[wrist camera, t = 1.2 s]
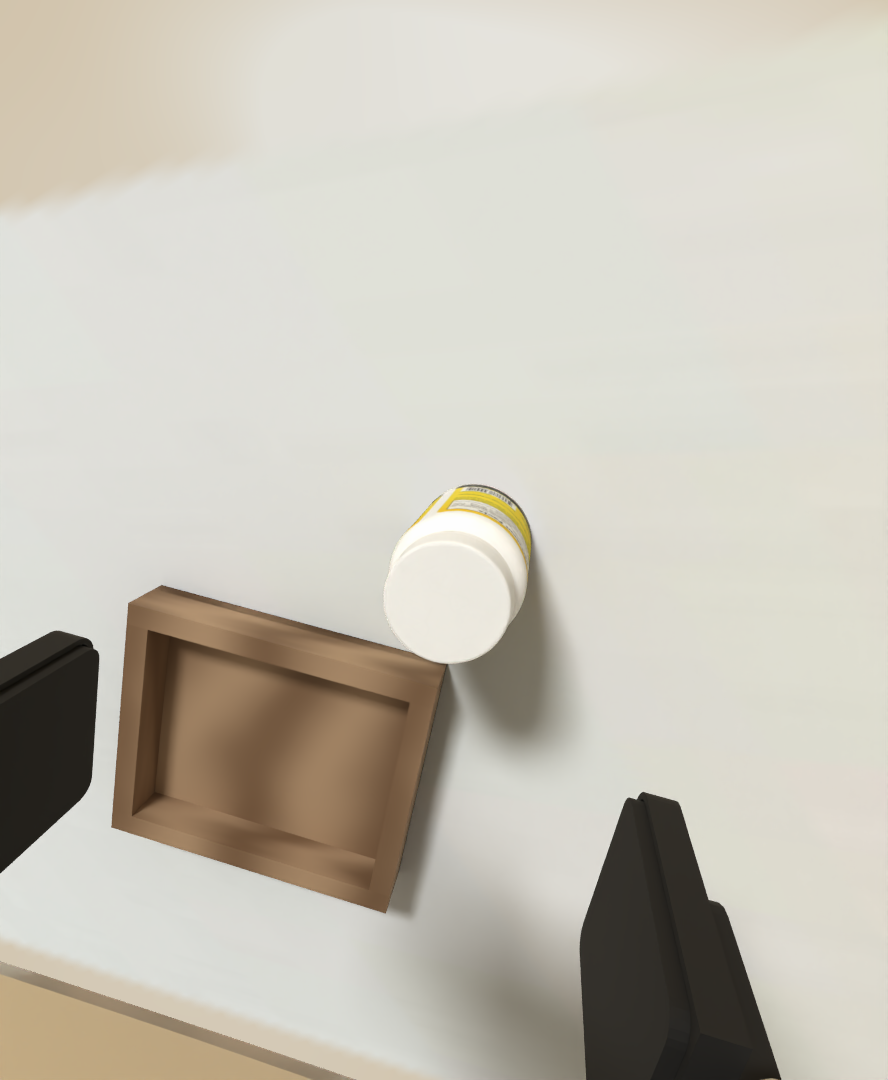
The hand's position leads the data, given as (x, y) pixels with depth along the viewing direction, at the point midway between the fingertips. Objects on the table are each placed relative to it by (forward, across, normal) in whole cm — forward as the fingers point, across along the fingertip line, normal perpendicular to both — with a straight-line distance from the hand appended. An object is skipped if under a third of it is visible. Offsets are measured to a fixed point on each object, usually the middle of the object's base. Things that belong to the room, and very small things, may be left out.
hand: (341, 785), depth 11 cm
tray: (+18, +7, +12) cm, 22 cm away
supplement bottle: (+18, 0, 0) cm, 18 cm away
